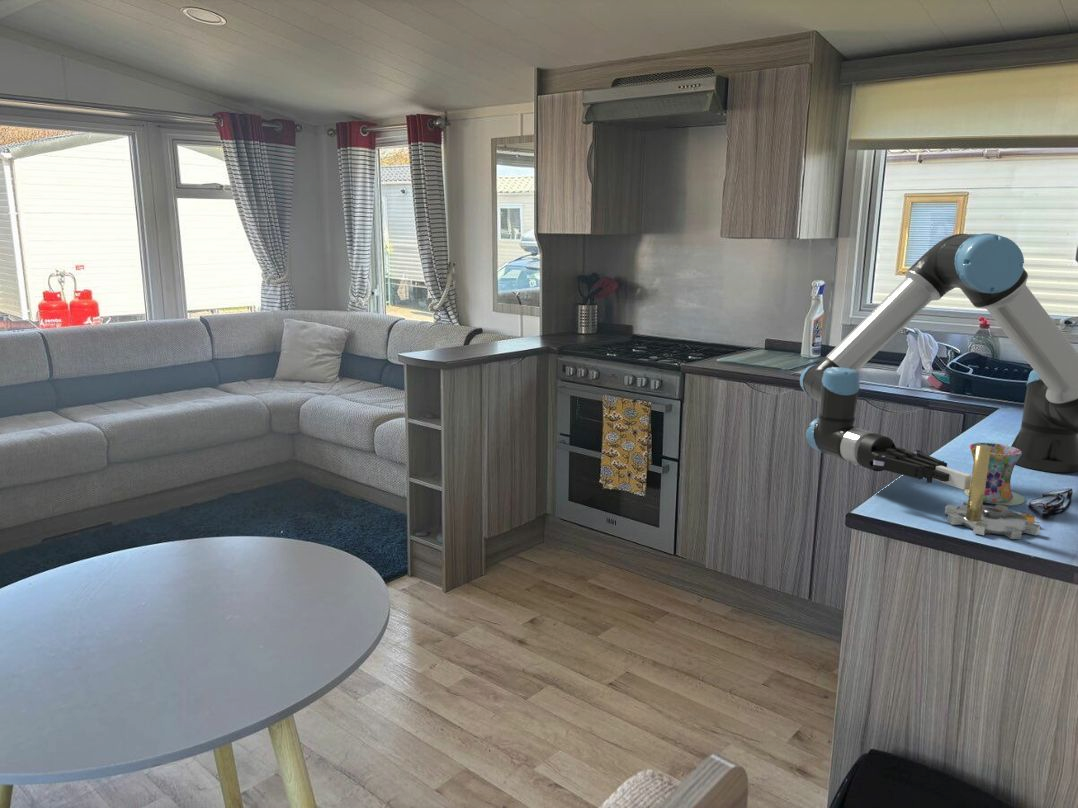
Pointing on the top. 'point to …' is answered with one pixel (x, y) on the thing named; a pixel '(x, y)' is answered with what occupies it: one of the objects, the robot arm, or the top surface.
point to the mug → (998, 471)
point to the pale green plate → (1015, 501)
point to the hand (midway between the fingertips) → (967, 482)
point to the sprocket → (988, 507)
